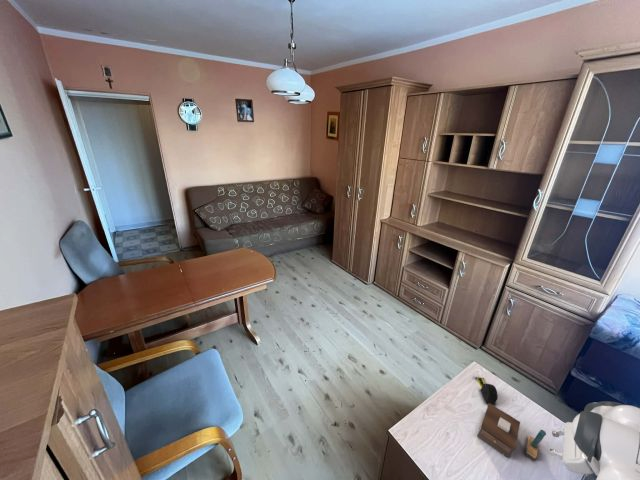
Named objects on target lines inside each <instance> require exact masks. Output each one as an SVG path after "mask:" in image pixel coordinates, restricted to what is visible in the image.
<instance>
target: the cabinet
mask: <svg viewBox="0 0 640 480" xmlns="http://www.w3.org/2000/svg"><path fill="white" fill-rule="evenodd" d="M486 407H487V408H486V409H485V412H484V414H483V417H482V419H481V422H480V425H479V429H478V431H477V434H476V437H477V438H478V439H480V440H481V441H483V442H484V443H486V444H487V445H489V446H490V447H492V448H493V449H494V450H496V451H497V452H499V453H500V454H501V455H503V457H506V458H509V456H510V455H511V453H512V452H513V450H516V445H517V440H518V435H519V431H520V426H521V421H519V420H518V419H516V418H514V417H513V416H512V415H510V414H508V413H507V412H505V411H503V410H502V409H500V408H499V407H497V406H495V405H492V404H490V403H489V404H487V406H486ZM500 417H501V418H503V419H504V420H506V421H507V422H509V423H510V424H511V425H510V429H509V432H506V431H505V430H503V429H501V428H500V427H498V422H499V419H500Z"/></svg>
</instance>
